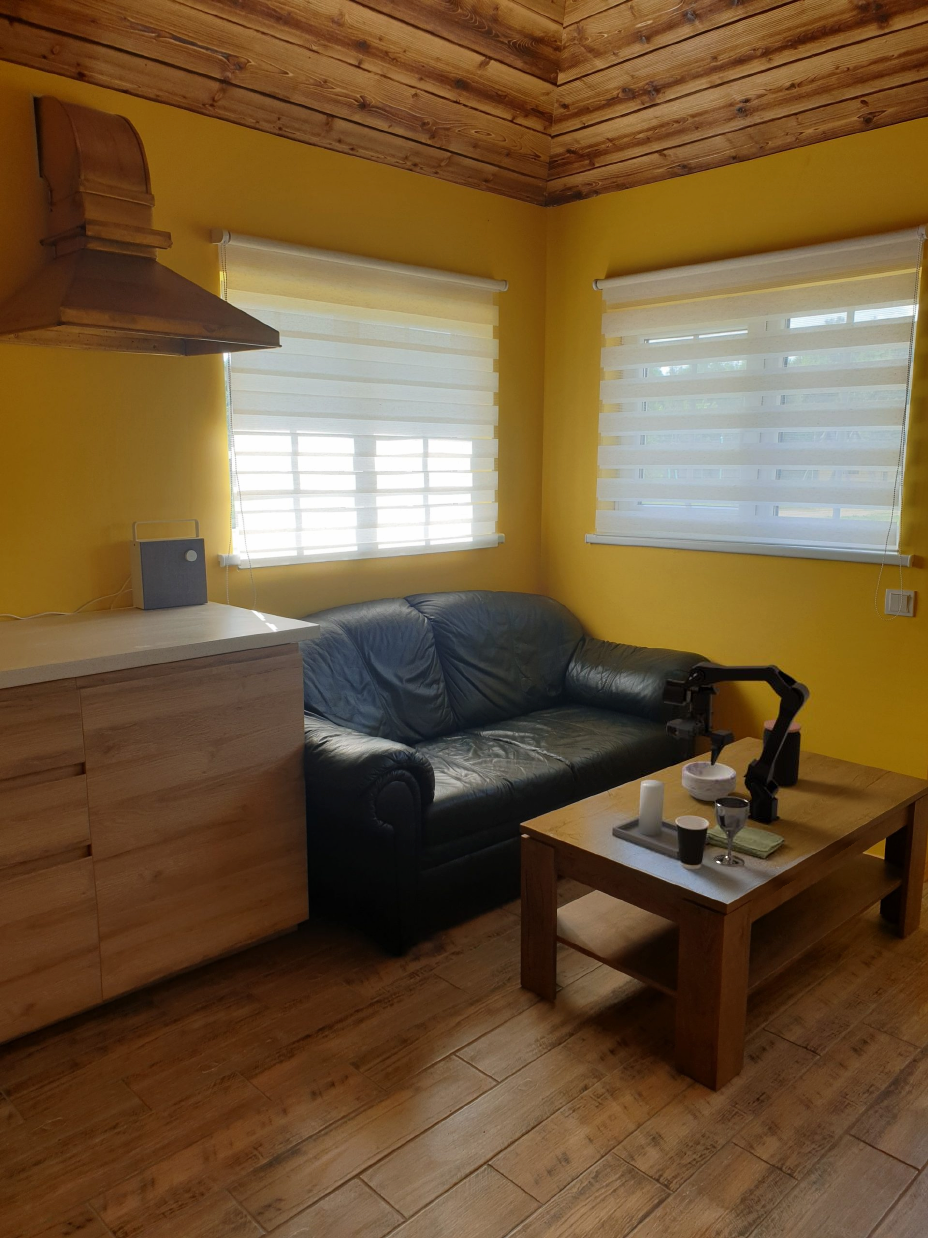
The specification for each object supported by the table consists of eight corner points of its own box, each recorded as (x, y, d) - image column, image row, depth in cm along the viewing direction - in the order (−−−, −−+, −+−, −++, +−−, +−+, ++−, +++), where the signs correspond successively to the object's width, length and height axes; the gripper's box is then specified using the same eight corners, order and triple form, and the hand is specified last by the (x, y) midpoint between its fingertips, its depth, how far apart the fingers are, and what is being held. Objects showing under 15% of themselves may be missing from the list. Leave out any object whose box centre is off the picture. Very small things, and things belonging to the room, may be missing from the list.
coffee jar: (767, 773, 288) (770, 717, 284) (802, 780, 281) (806, 723, 278) (755, 783, 279) (759, 725, 276) (791, 790, 273) (795, 731, 270)
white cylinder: (663, 829, 243) (666, 782, 241) (658, 837, 238) (661, 789, 236) (641, 825, 246) (643, 778, 243) (635, 833, 240) (638, 785, 238)
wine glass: (747, 868, 221) (750, 809, 219) (713, 866, 223) (716, 807, 220) (744, 855, 229) (747, 797, 226) (711, 852, 230) (714, 795, 228)
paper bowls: (727, 809, 259) (729, 782, 257) (674, 799, 266) (675, 773, 265) (740, 792, 272) (742, 766, 270) (689, 783, 279) (691, 758, 278)
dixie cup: (666, 861, 225) (668, 819, 223) (691, 855, 229) (693, 813, 227) (689, 874, 218) (691, 830, 216) (714, 867, 222) (716, 824, 220)
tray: (708, 843, 236) (709, 836, 235) (676, 859, 226) (677, 851, 226) (644, 820, 250) (645, 814, 250) (612, 835, 241) (612, 827, 241)
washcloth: (766, 862, 226) (767, 850, 225) (699, 843, 237) (700, 831, 236) (786, 845, 236) (787, 833, 235) (721, 827, 247) (722, 816, 246)
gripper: (655, 706, 258) (653, 759, 261) (713, 720, 244) (711, 776, 247) (678, 699, 265) (676, 751, 268) (736, 712, 252) (733, 767, 254)
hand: (698, 761), depth 259 cm, fingers open, 9 cm apart
